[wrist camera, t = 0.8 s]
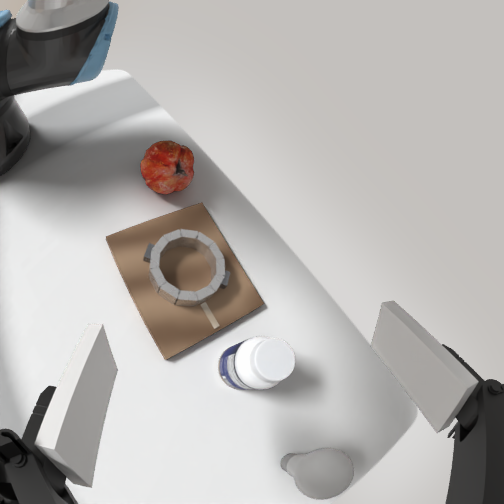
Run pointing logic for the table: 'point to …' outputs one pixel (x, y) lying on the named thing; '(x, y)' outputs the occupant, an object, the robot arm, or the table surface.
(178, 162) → the pomegranate
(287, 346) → the pill bottle
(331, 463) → the lightbulb
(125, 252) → the base plate
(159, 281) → the ring
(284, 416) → the table surface
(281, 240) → the table surface
